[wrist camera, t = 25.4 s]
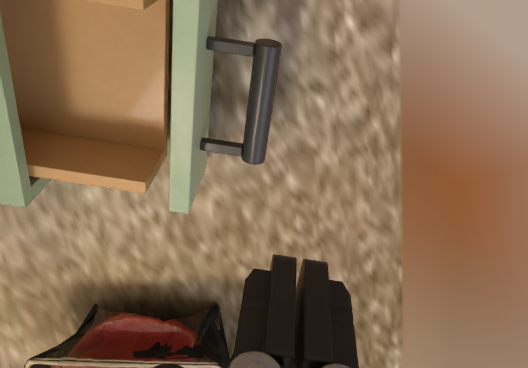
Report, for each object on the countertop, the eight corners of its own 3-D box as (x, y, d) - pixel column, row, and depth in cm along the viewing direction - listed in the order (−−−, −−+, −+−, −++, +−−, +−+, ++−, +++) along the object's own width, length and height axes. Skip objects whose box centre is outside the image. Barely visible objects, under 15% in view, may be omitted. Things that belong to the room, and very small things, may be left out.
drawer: (292, -22, 24) (289, -4, 20) (262, 176, 31) (254, 224, 26) (-50, -74, 24) (-133, -69, 20) (-6, 136, 31) (-60, 176, 26)
